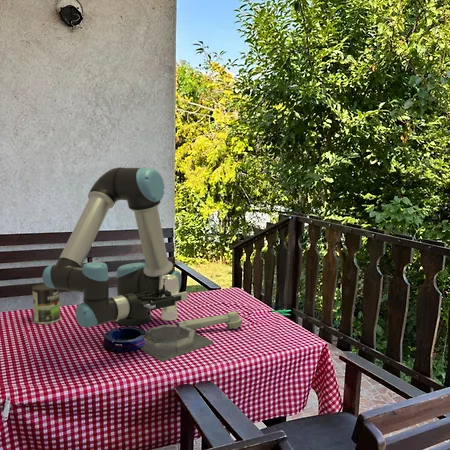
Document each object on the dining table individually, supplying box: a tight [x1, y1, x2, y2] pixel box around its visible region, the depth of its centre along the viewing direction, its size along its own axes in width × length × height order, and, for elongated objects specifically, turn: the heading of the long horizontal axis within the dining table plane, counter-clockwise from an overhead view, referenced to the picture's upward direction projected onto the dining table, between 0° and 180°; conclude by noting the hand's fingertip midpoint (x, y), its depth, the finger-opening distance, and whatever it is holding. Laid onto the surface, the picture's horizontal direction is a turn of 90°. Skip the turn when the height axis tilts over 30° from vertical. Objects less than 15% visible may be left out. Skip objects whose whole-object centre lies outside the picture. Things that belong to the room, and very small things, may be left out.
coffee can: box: [31, 283, 61, 325], centre depth 185 cm, size 10×10×14 cm
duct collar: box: [140, 324, 214, 362], centre depth 163 cm, size 22×22×3 cm
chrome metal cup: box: [159, 275, 180, 322], centre depth 161 cm, size 7×7×15 cm
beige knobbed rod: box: [176, 310, 243, 331], centre depth 174 cm, size 5×7×25 cm
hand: (180, 293), depth 164 cm, fingers closed on chrome metal cup, 6 cm apart
